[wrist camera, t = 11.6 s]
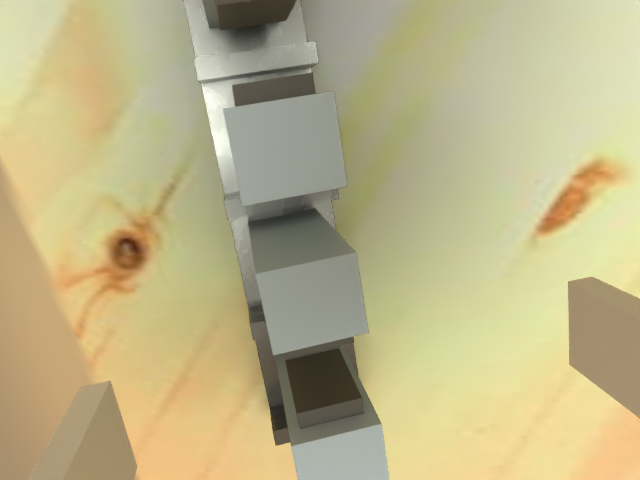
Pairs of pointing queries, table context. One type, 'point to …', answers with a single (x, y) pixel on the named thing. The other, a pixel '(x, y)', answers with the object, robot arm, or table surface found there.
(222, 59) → the rail
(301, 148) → the fitted fingers
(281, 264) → the block
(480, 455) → the table surface
